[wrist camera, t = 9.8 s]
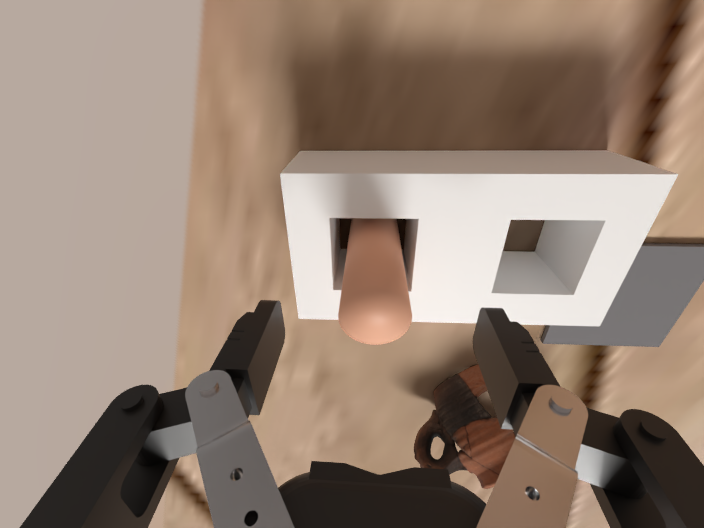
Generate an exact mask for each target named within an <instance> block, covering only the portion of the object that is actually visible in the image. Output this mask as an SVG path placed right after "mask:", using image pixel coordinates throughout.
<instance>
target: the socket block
mask: <svg viewBox="0 0 704 528" xmlns="http://www.w3.org/2000/svg"><path fill="white" fill-rule="evenodd" d="M677 176H678V174H676V173H673V172H670V171H667V170H664V169H661V168H658V167H655V166H652V165H649V164H646V163H644V162H641V161H638V160H635V159H632V158H629V157H626V156H623V155H620V154H617V153H614V152H611V151H608V150H470V151H299V153H298V154H297V155H296V156H295V157H294V158H293V159H292V160H291V162H290V163H289V164H288V165H287V166H286V167H285V168H284V169H283V171H282V172H281V173H280V178H281V186H282V194H283V201H284V209H285V217H286V225H287V232H288V240H289V248H290V256H291V263H292V271H293V279H294V287H295V294H296V302H297V310H298V317H299V319H329V320H339V319H338V312H339V305H340V298H341V291H342V283H343V276H344V269H345V262H346V255H347V249H340V224H339V218H384V219H406V229H405V241H404V250H402V256H403V262H404V268H405V274H406V280H407V286H408V293H409V299H410V305H411V311H412V322H445V323H477V319H478V315H479V311H480V309H481V308H482V307H484V308H502V309H504V311H505V313H506V315H507V317H508V318H509V320H510V321H512V322H518V323H519V324H523V325H562V326H600V325H601V323H602V321H603V319H604V317H605V315H606V313H607V311H608V309H609V308H610V306H611V304H612V302H613V300H614V298H615V296H616V294H617V292H618V290H619V288H620V286H621V284H622V282H623V280H624V278H625V277H626V275H627V273H628V271H629V269H630V267H631V265H632V263H633V261H634V259H635V257H636V255H637V253H638V251H639V249H640V247H641V246H642V244H643V242H644V240H645V238H646V236H647V234H648V232H649V230H650V228H651V226H652V224H653V222H654V220H655V218H656V216H657V215H658V213H659V211H660V209H661V207H662V205H663V203H664V201H665V199H666V197H667V195H668V193H669V191H670V189H671V187H672V185H673V184H674V182H675V180H676V178H677ZM511 220H545V221H544V224H543V228H542V231H541V234H540V237H539V240H538V243H537V246H536V249H535V252H524V251H503V248H504V244H505V240H506V236H507V232H508V229H509V225H510V221H511Z"/></svg>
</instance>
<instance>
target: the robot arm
mask: <svg viewBox="0 0 704 528" xmlns="http://www.w3.org/2000/svg"><path fill="white" fill-rule="evenodd" d="M284 339H285V327H284V321H283V314H282V308H281V303H280V301H271V300H261V301H260V302H259V303H258V305H257V307H256V309H255V311H254V312H247V313H246V314H244V315H243V316H242V317H241V318H240V319H239V320H237V322H236V324H235V326H234V327H233V329H232V332H231V333H230V335H229V336H228V338H227V340H226V342H225V344H224V345H223V347H222V349H221V351H220V353H219V354H218V356H217V358H216V360H215V362H214V363H213V365H212V367H211V369H210V370H209V371H208V372H205V373H203V374H201V375H199V376H197V377H196V378H195V379H193V381H192V382H191V383H190V384H189V385H188V387H187V388H184V389H180V390H175V391H171V392H166V393H162V394H159V393H158V391H157V389H156V388H155V387H153V386H151V385H139V386H136V387H133V388H130V389H128V390H126V391H125V392H123V393H121V394H120V395H119V396H117V397H116V398H115V399H114V400H113V401H112V402H111V404H110V405H109V406H108V408H107V409H106V411H105V412H104V413H103V415H102V416H101V417H100V419H99V420H98V422H97V423H96V424H95V426H94V427H93V428H92V430H91V431H90V432H89V434H88V435H87V436H86V438H85V439H84V441H83V442H82V443H81V445H80V446H79V448H78V449H77V450H76V451H75V453H74V454H73V456H72V457H71V458H70V460H69V461H68V462H67V464H66V465H65V466H64V468H63V469H62V471H61V472H60V473H59V475H58V476H57V477H56V479H55V480H54V482H53V483H52V484H51V486H50V487H49V488H48V490H47V491H46V492H45V494H44V495H43V497H42V498H41V499H40V501H39V502H38V503H37V505H36V506H35V507H34V509H33V510H32V512H31V513H30V514H29V516H28V517H27V518H26V520H25V521H24V522H23V524H22V525H21V527H20V528H148V526H149V524H150V522H151V519H152V517H153V515H154V513H155V511H156V508H157V506H158V504H159V502H160V499H161V497H162V495H163V493H164V491H165V488H166V486H167V484H168V482H169V480H170V477H171V475H172V473H173V471H174V468H175V466H176V464H177V462H178V460H179V458H180V457H183V456H187V455H191V454H194V453H197V458H198V462H199V466H200V470H201V475H202V479H203V483H204V487H205V491H206V496H207V500H208V504H209V508H210V512H211V516H212V521H213V525H214V528H566V525H567V520H568V516H569V512H570V508H571V504H572V500H573V496H574V492H575V487H576V483H577V479H580V480H582V481H585V482H588V483H590V485H591V487H592V489H593V491H594V493H595V496H596V498H597V500H598V502H599V504H600V506H601V509H602V511H603V513H604V515H605V517H606V519H607V522H608V524H609V526H610V528H704V466H703V464H702V463H701V462H700V460H699V459H698V458H697V457H696V455H695V454H694V453H693V451H692V450H691V449H690V448H689V446H688V445H687V444H686V442H685V441H684V440H683V438H682V437H681V436H680V435H679V433H678V432H677V431H676V430H675V429H674V428H673V427H672V426H671V425H669V424H668V423H667V422H665V421H664V420H662V419H661V418H659V417H657V416H655V415H653V414H651V413H649V412H646V411H642V410H637V409H630V410H626V411H624V412H623V413H622V415H621V416H620V418H618V417H615V416H611V415H608V414H605V413H601V412H598V411H595V410H592V409H589V408H587V407H586V406H585V405H584V403H583V402H582V401H581V400H580V399H579V398H578V397H577V396H576V395H575V394H573V393H572V392H570V391H569V390H567V389H565V388H562V387H560V385H559V383H558V382H557V380H556V378H555V377H554V375H553V373H552V371H551V370H550V368H549V366H548V365H547V363H546V361H545V360H544V358H543V356H542V354H541V353H539V349H538V348H537V346H536V344H534V341H533V339H532V337H531V336H530V334H529V332H528V331H527V330H526V329H525V328H524V327H522V326H521V325H520V324H519V323H518V322H512V321H510V320H509V318H508V317H507V315H506V313H505V311H504V309H502V308H484V307H482V308H481V309H480V311H479V315H478V319H477V323H476V327H475V331H474V336H473V349H474V353H475V356H476V359H477V362H478V364H479V367H480V370H481V373H482V376H483V379H484V382H485V384H486V387H487V390H488V393H489V396H490V399H491V402H492V404H493V407H494V410H495V413H496V416H497V419H498V422H499V424H500V427H501V429H512V430H513V431H514V434H515V436H516V438H515V440H514V442H513V445H512V447H511V449H510V452H509V454H508V456H507V458H506V461H505V463H504V465H503V468H502V470H501V472H500V474H499V477H498V479H497V481H496V484H495V486H494V488H493V491H492V493H491V495H490V497H489V500H488V502H487V504H486V503H485V502H484V501H482V500H481V499H480V498H479V497H478V496H476V495H475V494H474V493H473V492H471V491H469V490H468V489H466V488H465V487H463V486H461V485H459V484H456V483H454V482H451V481H450V476H449V471H448V469H432V468H415V467H414V468H409V469H405V470H400V471H396V472H392V473H387V474H383V475H377V474H374V473H371V472H368V471H365V470H363V469H360V468H357V467H354V466H351V465H348V464H346V463H334V462H317V461H312V462H311V468H310V472H308V473H304V474H301V475H299V476H296V477H294V478H292V479H290V480H288V481H287V482H285V483H284V484H283V485H281V486H280V487H279V488H278V487H277V485H276V482H275V480H274V477H273V475H272V473H271V470H270V468H269V465H268V463H267V461H266V458H265V456H264V453H263V451H262V449H261V446H260V444H259V441H258V439H257V437H256V434H255V432H254V429H253V427H252V425H251V423H250V421H248V417H249V415H260V412H261V409H262V406H263V403H264V400H265V397H266V394H267V391H268V388H269V385H270V382H271V379H272V377H273V374H274V371H275V368H276V365H277V362H278V359H279V356H280V353H281V350H282V347H283V344H284Z"/></svg>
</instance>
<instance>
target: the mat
mask: <svg viewBox="0 0 704 528" xmlns="http://www.w3.org/2000/svg"><path fill="white" fill-rule="evenodd" d="M703 281H704V244H656V243H643V244H642V246H641V247H640V249H639V251H638V253H637V255H636V257H635V259H634V261H633V263H632V265H631V267H630V269H629V271H628V273H627V275H626V277H625V278H624V280H623V282H622V284H621V286H620V288H619V290H618V292H617V294H616V296H615V298H614V300H613V302H612V304H611V306H610V308H609V309H608V311H607V313H606V315H605V317H604V319H603V321H602V323H601V325H600V326H562V325H546V328H545V330H544V333H543V335H542V338H541V341H542V343H543V344H576V345H611V346H646V347H659V346H660V345H661V343H662V342H663V340H664V339H665V337H666V336H667V334H668V333H669V331H670V330H671V328H672V327H673V325H674V324H675V323H676V321H677V320H678V318H679V317H680V315H681V314H682V312H683V311H684V309H685V308H686V306H687V305H688V303H689V302H690V300H691V299H692V297H693V296H694V294H695V293H696V291H697V290H698V288H699V287H700V285H701V284H702V282H703Z"/></svg>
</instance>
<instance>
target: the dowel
mask: <svg viewBox="0 0 704 528" xmlns="http://www.w3.org/2000/svg"><path fill="white" fill-rule="evenodd" d="M338 319H339V323H340V326H341V328H342V329H343V331H344V332H345V333H346V334H347V335H348V336H350V337H351V338H353V339H354V340H356V341H359V342H362V343H365V344H373V345H379V344H386V343H389V342H392V341H395V340H397V339H398V338H400V337H401V336H403V335H404V334H405V333H406V331H407V330H408V329H409V327H410V325H411V322H412V311H411V305H410V299H409V293H408V286H407V280H406V274H405V268H404V262H403V256H402V250H401V244H400V237H399V231H398V225H397V219H384V218H351V226H350V233H349V240H348V247H347V255H346V262H345V269H344V276H343V283H342V291H341V298H340V305H339V312H338Z"/></svg>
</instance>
